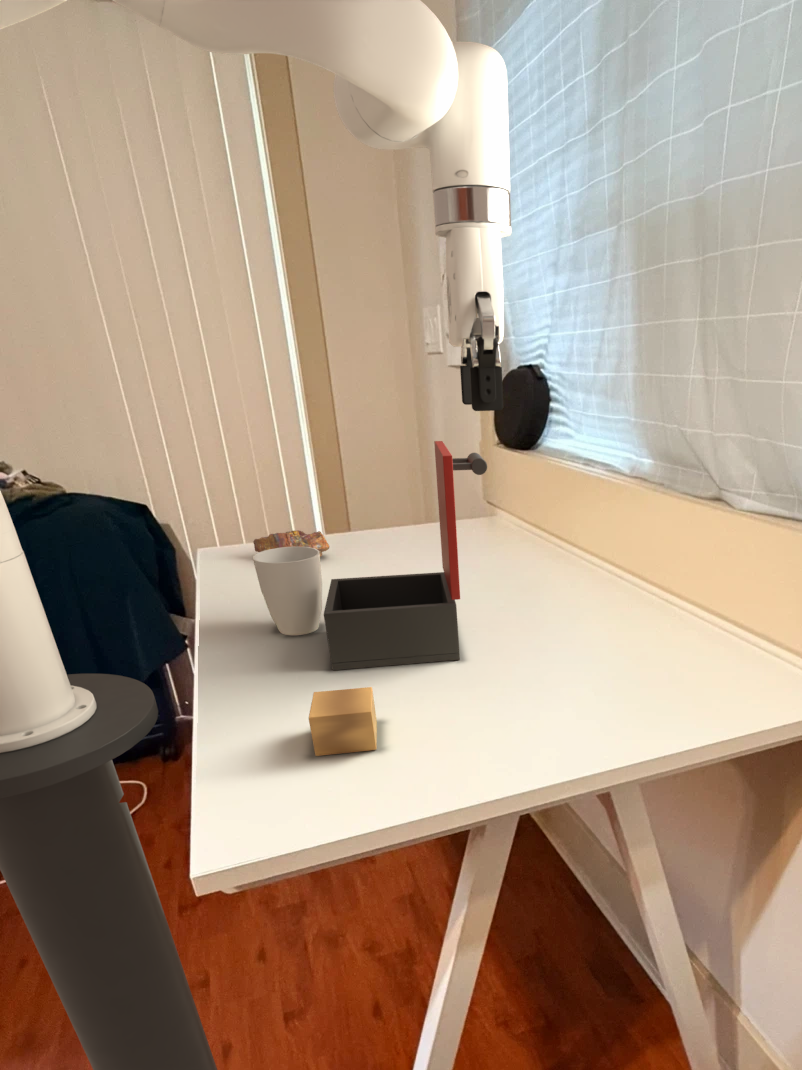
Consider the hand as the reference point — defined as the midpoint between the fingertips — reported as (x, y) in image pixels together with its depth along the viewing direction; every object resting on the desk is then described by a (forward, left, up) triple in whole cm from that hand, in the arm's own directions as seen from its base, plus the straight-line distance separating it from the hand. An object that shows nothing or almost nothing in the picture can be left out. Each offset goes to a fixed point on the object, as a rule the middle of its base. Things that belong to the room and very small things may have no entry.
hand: (481, 407), depth 77 cm
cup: (-25, +10, -27) cm, 38 cm away
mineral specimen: (-29, +46, -27) cm, 61 cm away
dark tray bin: (-12, +1, -27) cm, 30 cm away
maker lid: (-5, +1, -12) cm, 13 cm away
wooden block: (-17, -23, -27) cm, 39 cm away
